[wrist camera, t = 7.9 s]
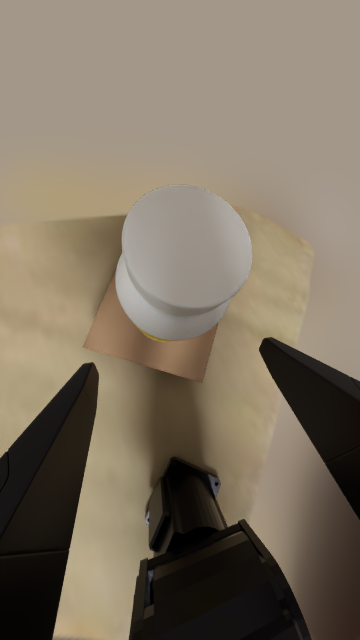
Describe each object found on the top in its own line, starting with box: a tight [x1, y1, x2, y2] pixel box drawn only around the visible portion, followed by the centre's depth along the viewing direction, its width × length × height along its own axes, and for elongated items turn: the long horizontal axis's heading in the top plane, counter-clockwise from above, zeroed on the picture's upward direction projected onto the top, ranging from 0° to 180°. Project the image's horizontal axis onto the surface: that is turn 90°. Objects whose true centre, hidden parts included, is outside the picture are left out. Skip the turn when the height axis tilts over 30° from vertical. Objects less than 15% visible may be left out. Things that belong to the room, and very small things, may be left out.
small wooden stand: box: [83, 267, 218, 383], centre depth 19 cm, size 12×12×4 cm
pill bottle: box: [115, 185, 252, 342], centre depth 11 cm, size 6×6×12 cm
